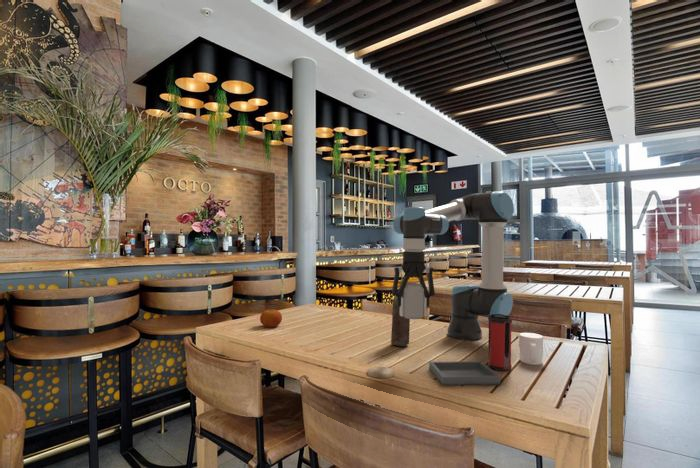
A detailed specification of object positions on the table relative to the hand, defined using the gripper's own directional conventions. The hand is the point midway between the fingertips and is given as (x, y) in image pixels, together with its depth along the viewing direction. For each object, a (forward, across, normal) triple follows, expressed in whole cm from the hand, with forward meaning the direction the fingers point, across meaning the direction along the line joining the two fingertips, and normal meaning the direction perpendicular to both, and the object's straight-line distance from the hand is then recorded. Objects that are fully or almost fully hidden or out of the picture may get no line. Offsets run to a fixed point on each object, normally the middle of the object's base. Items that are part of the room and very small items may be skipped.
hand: (412, 315), depth 133 cm
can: (+1, 0, 0) cm, 1 cm away
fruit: (+17, +57, -55) cm, 81 cm away
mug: (+17, -44, -2) cm, 48 cm away
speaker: (+17, -30, +4) cm, 35 cm away
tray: (+17, -14, +13) cm, 25 cm away
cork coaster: (+17, +12, +9) cm, 23 cm away
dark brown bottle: (+17, 0, -22) cm, 28 cm away
